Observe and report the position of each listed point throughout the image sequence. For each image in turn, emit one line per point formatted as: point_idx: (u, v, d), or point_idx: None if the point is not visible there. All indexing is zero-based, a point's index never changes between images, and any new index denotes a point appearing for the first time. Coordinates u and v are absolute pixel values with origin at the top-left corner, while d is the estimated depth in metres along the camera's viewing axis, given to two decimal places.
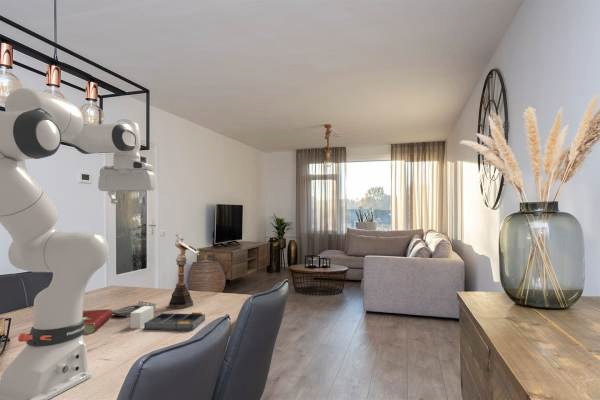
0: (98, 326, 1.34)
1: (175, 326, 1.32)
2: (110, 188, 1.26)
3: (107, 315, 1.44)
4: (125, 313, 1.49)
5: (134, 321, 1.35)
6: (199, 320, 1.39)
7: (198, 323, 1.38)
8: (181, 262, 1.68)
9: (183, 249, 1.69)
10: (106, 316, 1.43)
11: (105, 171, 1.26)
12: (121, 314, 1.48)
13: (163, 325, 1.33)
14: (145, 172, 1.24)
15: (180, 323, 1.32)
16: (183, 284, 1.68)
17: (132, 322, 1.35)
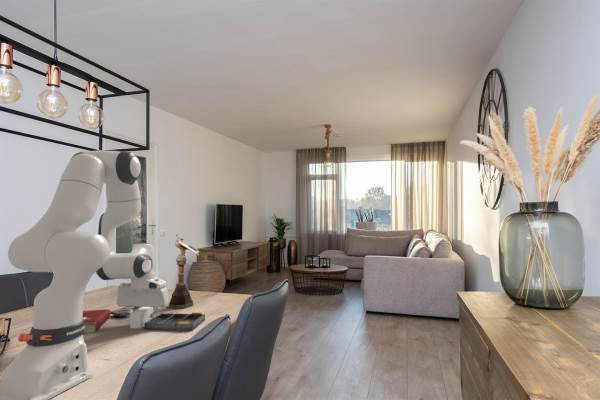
0: (99, 326, 1.34)
1: (175, 326, 1.32)
2: (128, 305, 1.39)
3: (106, 315, 1.44)
4: (125, 313, 1.49)
5: (134, 321, 1.35)
6: (199, 320, 1.39)
7: (198, 323, 1.38)
8: (181, 262, 1.68)
9: (183, 249, 1.69)
10: (105, 316, 1.44)
11: (123, 289, 1.40)
12: (121, 314, 1.48)
13: (163, 325, 1.33)
14: (160, 292, 1.38)
15: (180, 323, 1.32)
16: (183, 284, 1.68)
17: (132, 322, 1.35)
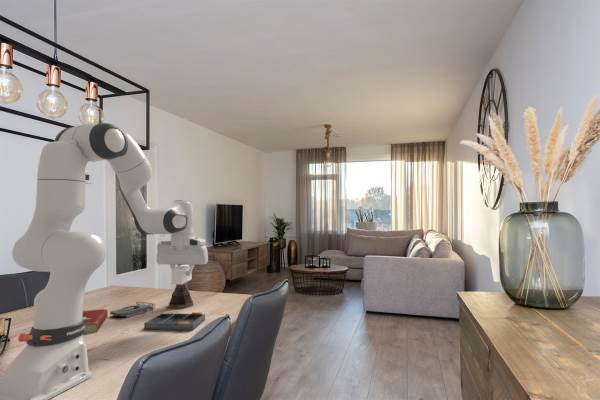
0: (99, 325, 1.35)
1: (175, 326, 1.32)
2: (168, 262, 1.39)
3: (104, 314, 1.45)
4: (126, 313, 1.49)
5: (175, 277, 1.35)
6: (199, 320, 1.39)
7: (198, 323, 1.38)
8: None
9: None
10: (104, 316, 1.44)
11: (163, 247, 1.39)
12: (122, 314, 1.48)
13: (163, 325, 1.33)
14: (200, 249, 1.37)
15: (180, 323, 1.32)
16: (183, 284, 1.68)
17: (173, 278, 1.35)
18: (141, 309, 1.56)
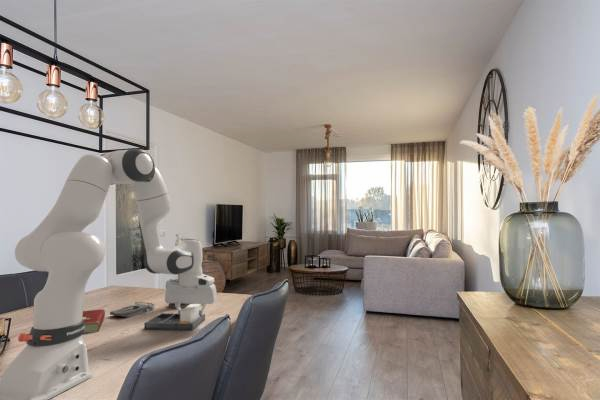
0: (100, 325, 1.35)
1: (175, 326, 1.32)
2: (176, 301, 1.37)
3: (103, 314, 1.45)
4: (126, 313, 1.49)
5: (183, 319, 1.33)
6: (199, 320, 1.39)
7: (198, 323, 1.38)
8: None
9: None
10: (103, 316, 1.44)
11: (171, 285, 1.38)
12: (122, 314, 1.47)
13: (163, 325, 1.33)
14: (209, 288, 1.36)
15: (180, 323, 1.32)
16: None
17: (182, 320, 1.33)
18: (141, 309, 1.55)
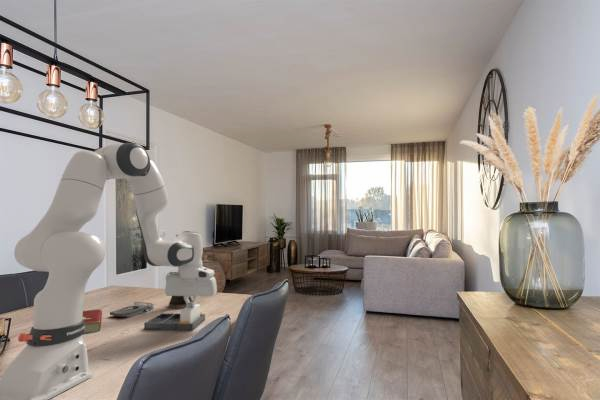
0: None
1: (175, 326, 1.32)
2: (176, 294, 1.38)
3: (101, 314, 1.45)
4: (126, 313, 1.49)
5: (183, 319, 1.33)
6: (199, 320, 1.39)
7: (198, 323, 1.38)
8: None
9: None
10: (101, 316, 1.44)
11: (171, 278, 1.38)
12: (123, 314, 1.47)
13: (163, 325, 1.33)
14: (209, 281, 1.36)
15: (180, 323, 1.32)
16: None
17: (182, 320, 1.33)
18: (141, 309, 1.55)
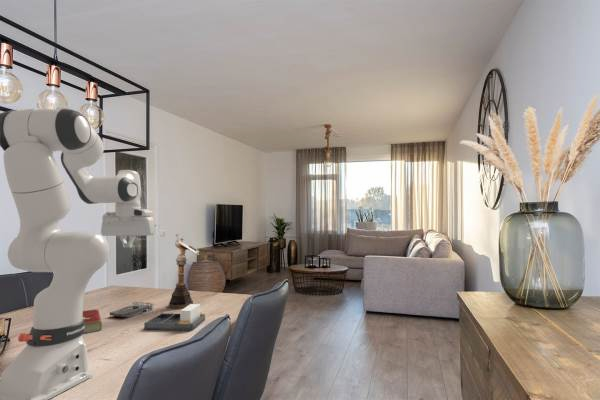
0: None
1: (175, 326, 1.32)
2: (112, 233, 1.35)
3: None
4: (127, 313, 1.48)
5: (183, 319, 1.33)
6: (199, 320, 1.39)
7: (198, 323, 1.38)
8: (181, 262, 1.68)
9: (183, 249, 1.69)
10: None
11: (107, 217, 1.35)
12: (123, 315, 1.47)
13: (163, 325, 1.33)
14: (145, 219, 1.33)
15: (180, 323, 1.32)
16: (183, 284, 1.68)
17: (182, 320, 1.33)
18: (141, 309, 1.55)
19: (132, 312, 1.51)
